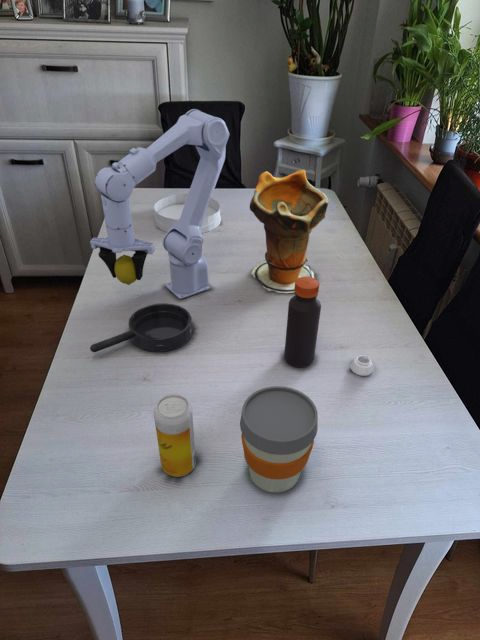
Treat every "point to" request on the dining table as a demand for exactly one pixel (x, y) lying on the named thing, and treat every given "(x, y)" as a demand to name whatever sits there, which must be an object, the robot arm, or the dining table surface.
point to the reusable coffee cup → (277, 436)
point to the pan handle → (111, 341)
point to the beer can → (175, 435)
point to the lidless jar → (362, 365)
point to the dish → (172, 209)
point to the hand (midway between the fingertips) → (127, 276)
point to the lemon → (125, 270)
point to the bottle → (302, 323)
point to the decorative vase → (286, 227)
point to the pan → (161, 327)
